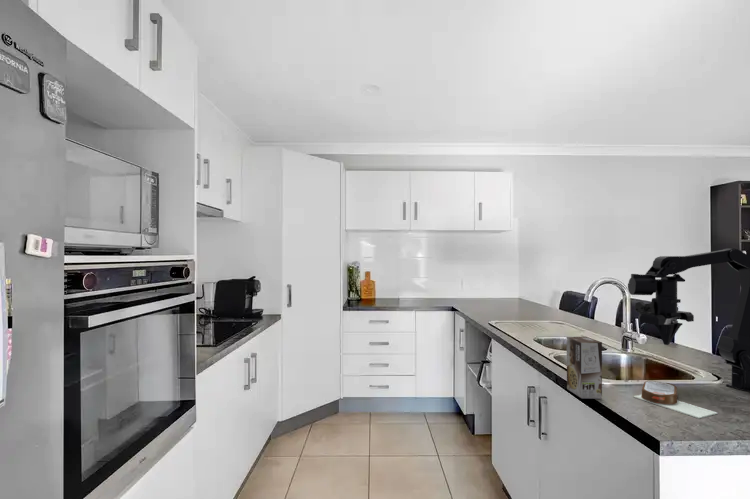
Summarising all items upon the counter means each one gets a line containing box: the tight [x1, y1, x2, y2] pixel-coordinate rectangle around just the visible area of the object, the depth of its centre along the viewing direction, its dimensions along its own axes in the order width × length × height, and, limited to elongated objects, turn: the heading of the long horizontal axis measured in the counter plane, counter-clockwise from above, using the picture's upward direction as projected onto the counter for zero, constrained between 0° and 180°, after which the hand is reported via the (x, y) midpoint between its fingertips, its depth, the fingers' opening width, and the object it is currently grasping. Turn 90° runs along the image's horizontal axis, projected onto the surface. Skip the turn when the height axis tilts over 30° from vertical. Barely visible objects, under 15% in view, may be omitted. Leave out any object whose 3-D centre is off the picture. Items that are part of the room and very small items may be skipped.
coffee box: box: [565, 336, 603, 400], centre depth 124 cm, size 9×6×16 cm
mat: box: [633, 394, 719, 420], centre depth 115 cm, size 8×17×1 cm, turn 24°
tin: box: [640, 380, 679, 404], centre depth 121 cm, size 15×3×8 cm
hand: (666, 344), depth 133 cm, fingers closed
